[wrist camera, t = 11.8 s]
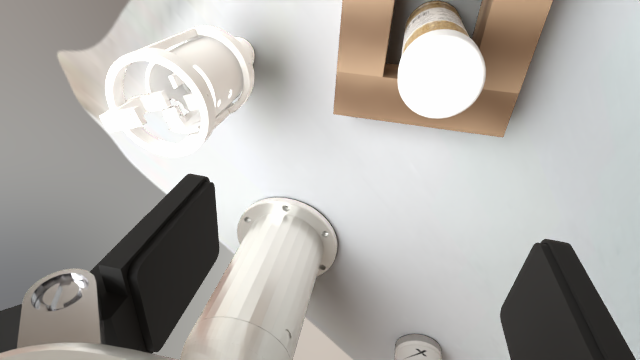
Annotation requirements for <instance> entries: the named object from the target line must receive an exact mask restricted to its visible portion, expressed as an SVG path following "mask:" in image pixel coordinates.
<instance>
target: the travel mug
mask: <svg viewBox="0 0 640 360" xmlns="http://www.w3.org/2000/svg"><path fill="white" fill-rule="evenodd" d="M395 360H442V355H441V347H440V346H439V344H438V343H437V342H436V341H435V340H433V339H432V338H430V337H427V336H425V335H420V334H410V335H405V336H403V337H401V338H400V339H398V341H397V342H396V344H395Z"/></svg>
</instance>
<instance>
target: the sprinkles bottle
mask: <svg viewBox="0 0 640 360" xmlns="http://www.w3.org/2000/svg"><path fill="white" fill-rule="evenodd" d="M485 78H486V67H485V62H484V59H483V56H482V54H481V52H480V50H479V48H478V46H477V45H476V44H475V42H474V41H473V40H472V39H471V38H470V37H469V35H468V33H467V31H466V29H465V27H464V25H463V23H462V21H461V18H460V16H459V14H458V12H457V10H456V9H455V8H454V7H453V6H451V5H450V4H448V3H447V2H442V1H430V2H427V3H424V4H422V5H421V6H419V7H418V8H417V9H416V10H414V11H413V12H412V13H411V15H410V17H409V18H408V20H407V22H406V26H405V30H404V40H403V48H402V57H401V60H400V63H399V68H398V89H399V93H400V95H401V97H402V99H403V101H404V102H405V104H406V105H407V106H408V107H409V108H410V109H411V110H412V111H414V112H415V113H417V114H419V115H421V116H424V117H428V118H435V119H440V118H447V117H451V116H454V115H457V114H459V113H461V112H463V111H464V110H466V109H467V108H468V107H470V106H471V105H472V104H473V103H474V102H475V101H476V99H477V98H478V96H479V95H480V93H481V91H482V89H483V86H484V83H485Z"/></svg>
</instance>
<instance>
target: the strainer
mask: <svg viewBox="0 0 640 360" xmlns="http://www.w3.org/2000/svg"><path fill="white" fill-rule="evenodd" d="M186 40H187V42H186V43H185V41H186ZM168 48H169V49H168ZM165 49H168V51H166V50H165ZM254 59H255V54H254V50H253V47H252V46H251V44H250V43H249V42H248V41H247V40H245V39H244V38H241V37H234V36H232V35H231V34H230V33H228V32H227V31H225V30H223V29H220V28H218V27H214V26H208V25H202V26H196V27H193V28H191V29H188V30H186V31H183V32H181V33H178V34H176V35H173V36H171V37H168V38H166V39H163V40H161V41H159V42H156V43H154V44H151V45H149V46H146V47H144V48H141V49H139V50H136V51H134V52H131V53H129V54H126V55H124V56H122V57H120V58H119V59H118V60H116V61H115V62H114V63H113V65H112V66H111V67H110V69H109V71H108V74H107V77H106V84H105V91H106V98H107V102H108V105H109V108H110V110H109V111H107V112H105V113H103V114H102V115H100V116H99V117H100V119H101V121H102V122H103V124H104V126H105V128H106V129H107V131H108V132H109V133H110V132H115V131H120V130H123V131H124V132H125V133H126V134H127V135H128V136H129V137H130V138H131V139H132V140H133V141H134V142H136V143H137V144H138V145H140V146H141V147H143V148H145V149H146V150H148V151H150V152H153V153H155V154H158V155H162V156H167V157H181V156H185V155H188V154H190V153H192V152H194V151H195V150H197V149H198V148H199V147H200V146H201V145H202V144H203V143H204V142H205V141H206V140H207V139H208V138H209V136H210V135H211V133H212V131H213V130H214V129H215V128H216V127H217V126H218V125H219V124H220V123H221V122H222V121H223V120H224V119H225V118H226V117H227V116H228V115H229V114H231V113H233V112H235V111H236V110H238V109H239V108H240V107H241V106H242V105H243V104H244V103H245V102H246V101H247V100H248V98H249V97H250V95H251V93H252V90H253V86H254V69H253V65H252V64H253V63H254ZM135 61H150V64H149V65H148V67H147V70H146V76H145V83H146V89H147V92H148V94H146V95H139V96H134V97H132V98H130V99H128V100H125V96H124V90H123V82H124V76H125V73H126V71H127V70H126V68H127V67H128V66H129V65H131V64H132V63H133V62H135ZM242 90H243V91H242ZM229 91H230V95H229ZM241 92H242V94H241V96H240V98H239V99H238V101H237V102H235V103H232V101H233V100H234V99H236V98H237V97H238V96H239V95H240V93H241ZM228 95H229V97H228ZM171 99H172V100H173V101H174V102H175V101H176V102H178V103H180V104H181V106H182V109H183V110H185V111H186V112H188V113H187V114H186V115H184V116H183V114H182V112H181V110H180V108H179V105H175V106H172V105H171V103H170V100H171ZM170 106H171V107H170ZM162 109H163V110H162ZM157 110H162V112H163V114H164V116H163V117H164V119H165V121H166V123H168V124H169V126H170V129H169V130H171V131H174V132H177V133H185V134H187V133H190V134H189V135H188V136H187V137H186V138H185V139H184V140H182V141H181V142H180V143H179V144H177V143H170V142H166V141H164V140H161V139H159V138H157V137H155V136H153V135H152V134H150V133H149V132H148V131H147V130H145V129H144V128H143V127H142V126H143V125H144V124H146V123H147V122H146V120H145V118H144V116H143V115H144V114H146V113H148V112H153V111H157Z"/></svg>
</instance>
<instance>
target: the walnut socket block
mask: <svg viewBox="0 0 640 360" xmlns="http://www.w3.org/2000/svg"><path fill="white" fill-rule="evenodd" d="M552 2H553V0H482V3H481V7H480V10H479V14H478V18H477V22H476V25H475V29H474V33H473V36H472V40H473V41H474V42H475V44H476V45H477V46H478V48H479V50H480V52H481V54H482V56H483V59H484V62H485V67H486V78H485V83H484V86H483V89H482V91H481V93H480V95H479V96H478V98H477V99H476V101H475V102H474V103H473V104H472V105H471V106H470V107H468V108H467V109H466V110H464V111H463V112H461V113H459V114H457V115H454V116H451V117H447V118H440V119H435V118H428V117H424V116H421V115H419V114H417V113H415V112H414V111H412V110H411V109H410V108H409V107H408V106H407V105H406V104H405V102H404V101H403V99H402V97H401V95H400V93H399V89H398V68H399V65H397V64H388V63H386V58H387V52H388V45H389V39H390V32H391V25H392V19H393V12H394V6H395V0H343V2H342V14H341V26H340V38H339V51H338V63H337V75H336V88H335V100H334V112H333V114H337V115H344V116H351V117H359V118H366V119H373V120H380V121H388V122H395V123H402V124H409V125H417V126H424V127H431V128H439V129H446V130H453V131H460V132H468V133H475V134H482V135H490V136H497V137H503V136H504V134H505V131H506V128H507V125H508V123H509V120H510V117H511V114H512V112H513V109H514V106H515V103H516V101H517V98H518V95H519V92H520V90H521V87H522V84H523V81H524V79H525V76H526V73H527V70H528V68H529V65H530V62H531V59H532V57H533V54H534V51H535V48H536V46H537V43H538V40H539V37H540V35H541V32H542V29H543V26H544V24H545V21H546V18H547V15H548V13H549V10H550V7H551V4H552Z"/></svg>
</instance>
